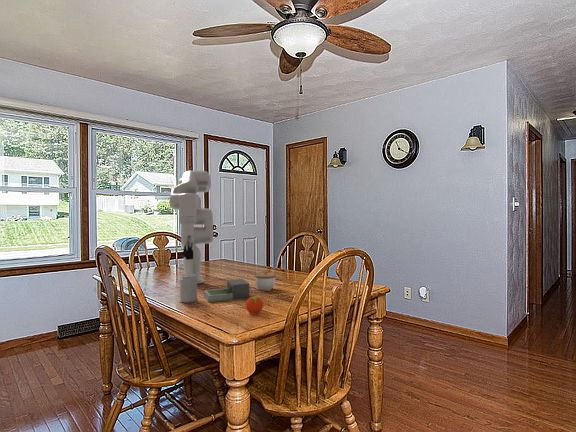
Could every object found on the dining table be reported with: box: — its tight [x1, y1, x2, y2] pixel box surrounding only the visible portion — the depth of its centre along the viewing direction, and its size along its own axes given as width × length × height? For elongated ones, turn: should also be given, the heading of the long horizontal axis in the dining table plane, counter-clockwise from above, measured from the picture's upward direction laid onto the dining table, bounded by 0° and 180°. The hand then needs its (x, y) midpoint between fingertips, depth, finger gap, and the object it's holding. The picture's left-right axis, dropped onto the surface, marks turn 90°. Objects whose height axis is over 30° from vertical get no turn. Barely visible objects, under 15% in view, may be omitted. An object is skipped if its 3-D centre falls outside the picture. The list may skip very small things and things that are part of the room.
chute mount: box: [203, 278, 250, 303], centre depth 171 cm, size 12×19×7 cm, turn 112°
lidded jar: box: [254, 270, 277, 292], centre depth 188 cm, size 11×11×9 cm
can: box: [179, 274, 198, 304], centre depth 165 cm, size 8×8×12 cm
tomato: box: [245, 295, 264, 315], centre depth 144 cm, size 8×7×7 cm
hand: (188, 258), depth 164 cm, fingers open, 9 cm apart
